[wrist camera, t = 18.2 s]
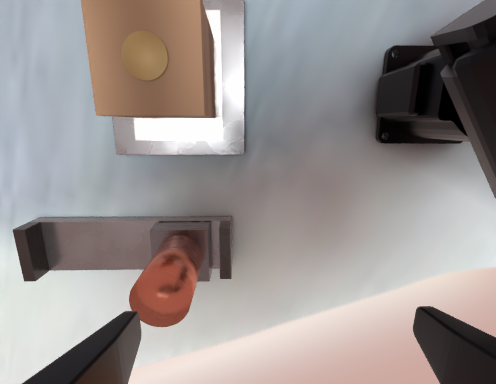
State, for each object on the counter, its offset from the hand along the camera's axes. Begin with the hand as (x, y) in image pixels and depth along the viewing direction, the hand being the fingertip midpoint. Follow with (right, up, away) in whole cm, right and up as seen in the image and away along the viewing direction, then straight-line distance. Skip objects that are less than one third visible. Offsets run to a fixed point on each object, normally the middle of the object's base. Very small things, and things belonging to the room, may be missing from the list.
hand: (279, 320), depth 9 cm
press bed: (-6, +12, +10) cm, 17 cm away
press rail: (-10, 0, +13) cm, 16 cm away
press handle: (-6, 0, +12) cm, 13 cm away
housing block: (-6, +12, +9) cm, 16 cm away
